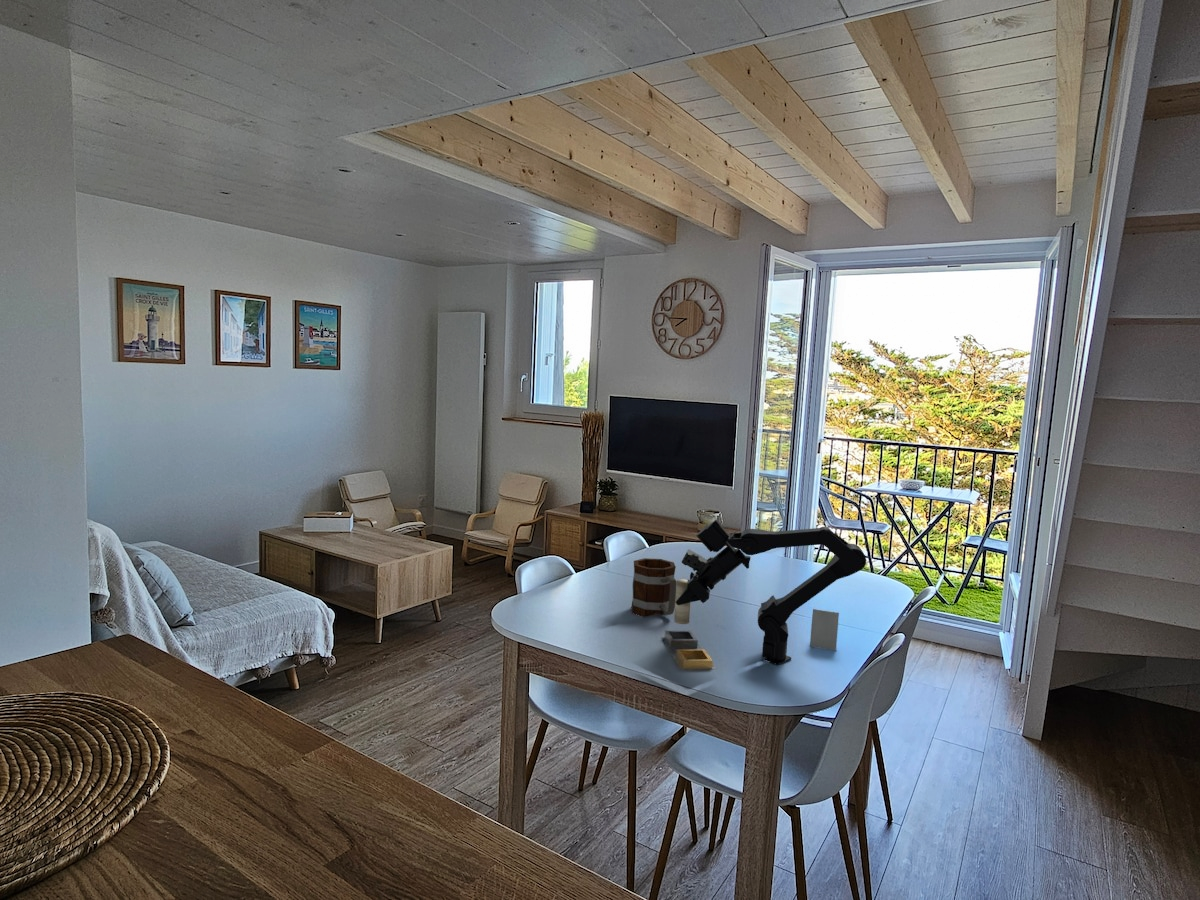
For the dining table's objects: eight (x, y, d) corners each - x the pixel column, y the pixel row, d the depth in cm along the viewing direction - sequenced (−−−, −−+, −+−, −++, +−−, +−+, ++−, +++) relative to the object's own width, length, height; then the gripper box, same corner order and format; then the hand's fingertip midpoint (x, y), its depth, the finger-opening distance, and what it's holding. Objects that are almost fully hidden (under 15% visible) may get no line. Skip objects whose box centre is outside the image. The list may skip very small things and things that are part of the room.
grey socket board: (660, 641, 189) (661, 630, 189) (692, 641, 190) (693, 630, 190) (679, 674, 168) (680, 661, 168) (715, 673, 170) (716, 660, 169)
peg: (681, 618, 188) (683, 578, 187) (692, 622, 185) (694, 581, 184) (671, 620, 185) (673, 580, 184) (682, 625, 182) (684, 584, 181)
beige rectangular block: (835, 650, 188) (838, 614, 187) (809, 646, 191) (812, 610, 190) (836, 646, 192) (839, 610, 191) (810, 641, 194) (813, 607, 193)
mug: (622, 606, 218) (625, 559, 216) (660, 602, 223) (663, 556, 222) (651, 627, 200) (654, 576, 198) (692, 623, 205) (695, 573, 204)
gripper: (704, 534, 191) (662, 569, 195) (698, 549, 173) (652, 587, 177) (731, 565, 190) (688, 599, 194) (728, 583, 172) (681, 621, 176)
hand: (677, 601), depth 185 cm, fingers closed on peg, 4 cm apart
